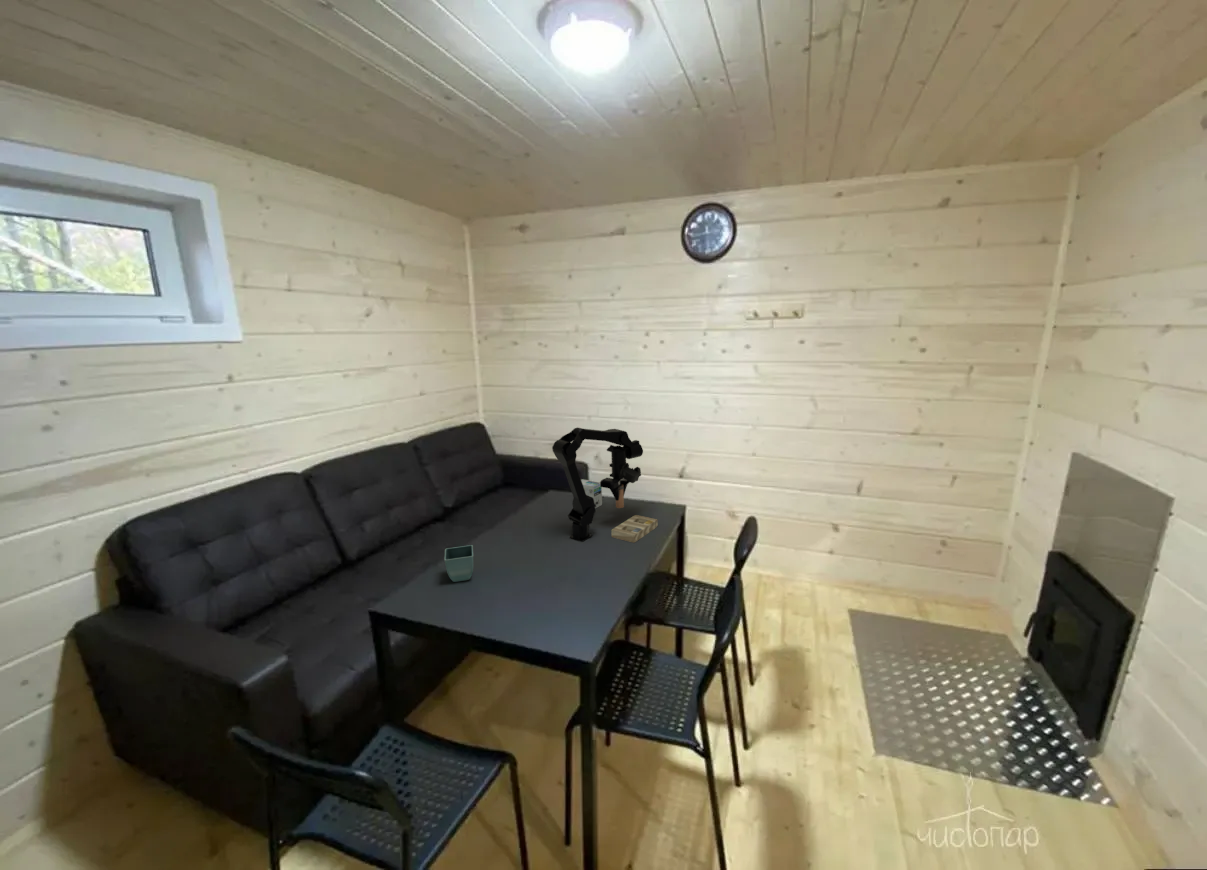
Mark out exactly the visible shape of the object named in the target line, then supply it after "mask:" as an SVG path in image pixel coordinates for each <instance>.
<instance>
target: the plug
mask: <svg viewBox="0 0 1207 870" xmlns="http://www.w3.org/2000/svg"><path fill="white" fill-rule="evenodd" d="M620 485H622V487H621V488H620V491H619V500H618V501H617V500H616V499H615V508H616V509H623V508H624V507H625V504H624V503H625V502H624V501H625V500H624V499H625V498H624V497H625V494H624V486H623V484H620Z"/></svg>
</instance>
